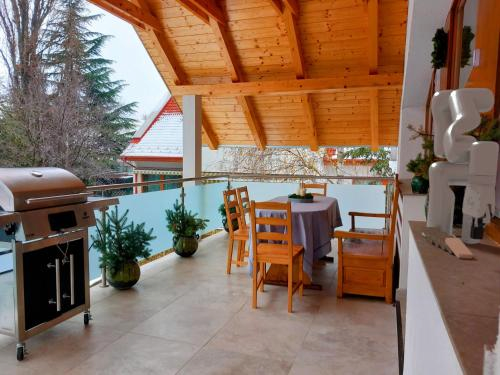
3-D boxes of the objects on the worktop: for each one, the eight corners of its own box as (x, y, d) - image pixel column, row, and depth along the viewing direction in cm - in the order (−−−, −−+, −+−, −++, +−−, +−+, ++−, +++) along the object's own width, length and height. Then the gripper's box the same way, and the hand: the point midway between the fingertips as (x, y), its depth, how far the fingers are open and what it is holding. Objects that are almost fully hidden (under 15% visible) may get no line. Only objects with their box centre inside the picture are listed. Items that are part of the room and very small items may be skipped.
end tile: (473, 254, 126) (458, 238, 135) (459, 254, 126) (445, 237, 135) (471, 258, 126) (457, 242, 135) (458, 258, 126) (444, 241, 135)
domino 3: (443, 250, 136) (432, 235, 145) (456, 251, 136) (444, 235, 145) (444, 246, 135) (433, 231, 144) (457, 247, 135) (445, 232, 144)
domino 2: (437, 247, 141) (427, 232, 150) (449, 247, 141) (438, 233, 150) (438, 243, 140) (427, 229, 149) (451, 244, 140) (439, 229, 149)
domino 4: (450, 254, 131) (438, 238, 140) (463, 254, 131) (451, 239, 140) (451, 250, 130) (439, 234, 140) (465, 250, 130) (452, 235, 139)
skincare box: (471, 244, 147) (474, 213, 146) (460, 242, 151) (462, 212, 150) (479, 242, 151) (482, 212, 149) (468, 240, 154) (470, 211, 153)
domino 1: (431, 244, 145) (421, 230, 154) (443, 244, 145) (432, 230, 154) (432, 240, 145) (422, 226, 154) (444, 241, 145) (433, 227, 154)
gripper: (456, 179, 126) (452, 233, 128) (483, 182, 111) (477, 243, 113) (479, 180, 126) (474, 234, 127) (509, 183, 111) (503, 244, 113)
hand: (476, 238), depth 120 cm, fingers closed
